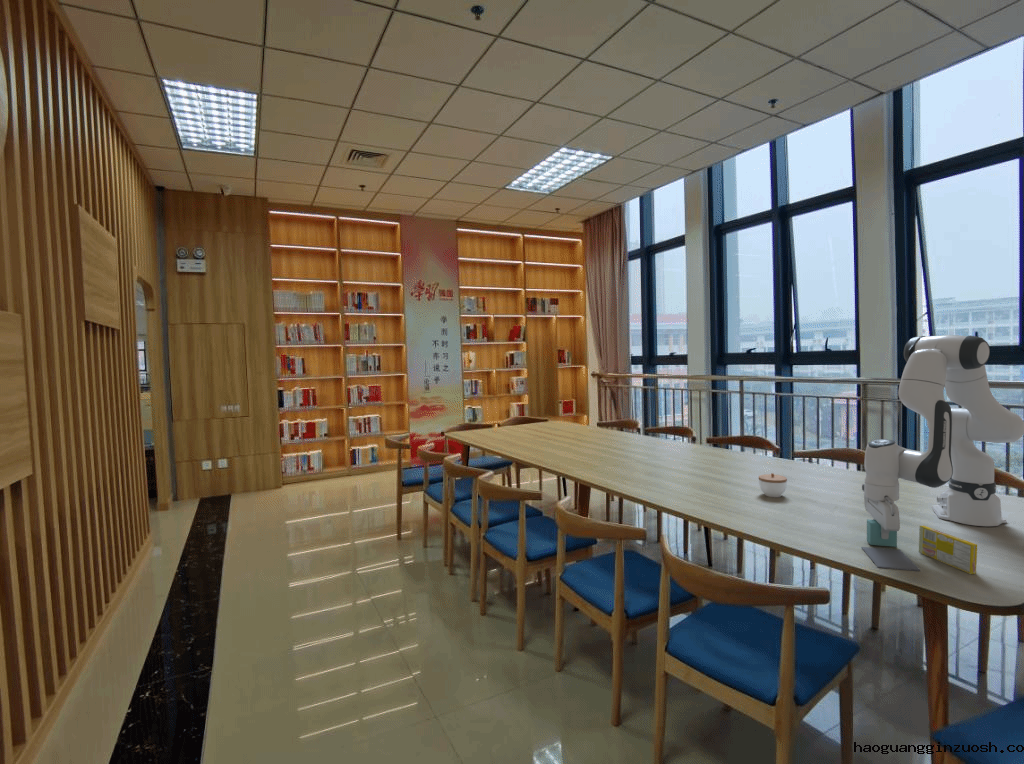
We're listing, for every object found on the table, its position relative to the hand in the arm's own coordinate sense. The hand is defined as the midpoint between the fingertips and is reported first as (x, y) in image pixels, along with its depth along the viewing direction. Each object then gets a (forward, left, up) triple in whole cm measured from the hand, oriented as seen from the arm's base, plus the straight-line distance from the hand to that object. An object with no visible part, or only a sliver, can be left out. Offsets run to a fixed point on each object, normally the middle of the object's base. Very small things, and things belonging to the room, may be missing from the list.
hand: (881, 535), depth 163 cm
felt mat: (+12, -2, -3) cm, 13 cm away
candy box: (+11, +12, -3) cm, 17 cm away
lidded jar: (-52, -24, -3) cm, 57 cm away
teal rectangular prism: (0, 0, -3) cm, 3 cm away
